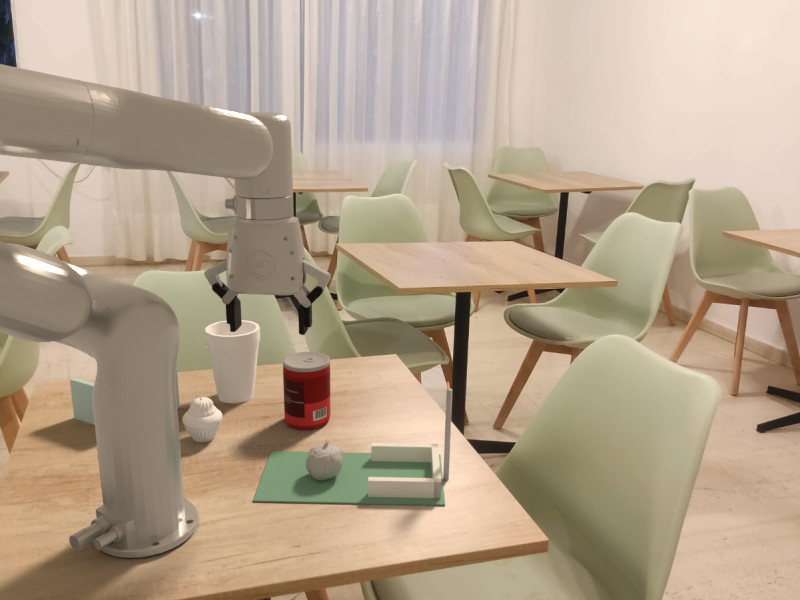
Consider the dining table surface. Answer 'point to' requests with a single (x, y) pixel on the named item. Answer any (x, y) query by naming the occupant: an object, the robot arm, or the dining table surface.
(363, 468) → the felt mat
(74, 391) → the right angle wall
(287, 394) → the canned food
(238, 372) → the foam cup
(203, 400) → the muffin
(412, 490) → the white u-shaped frame
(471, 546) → the dining table surface
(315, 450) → the garlic
